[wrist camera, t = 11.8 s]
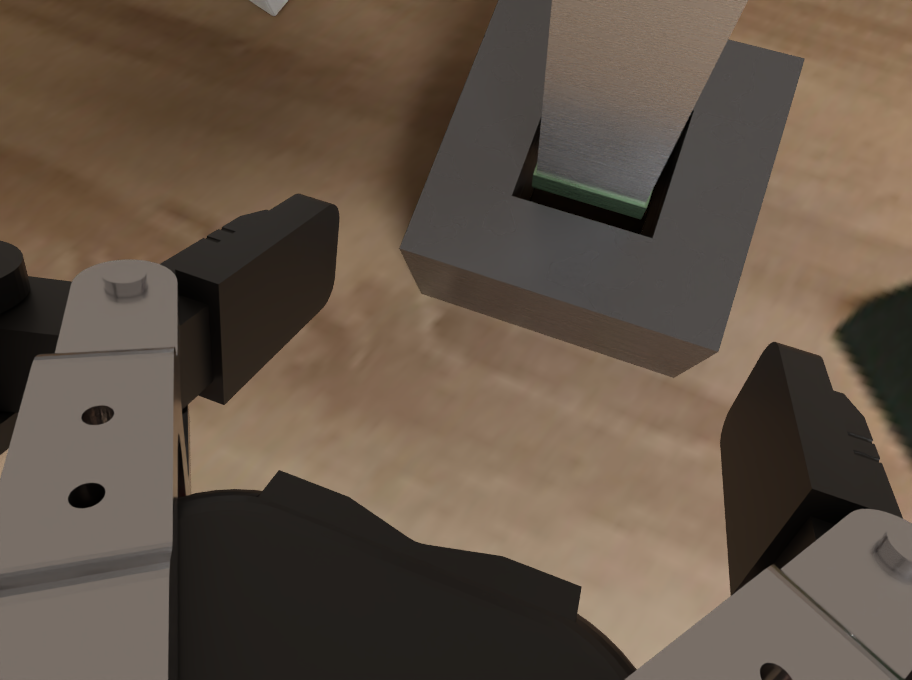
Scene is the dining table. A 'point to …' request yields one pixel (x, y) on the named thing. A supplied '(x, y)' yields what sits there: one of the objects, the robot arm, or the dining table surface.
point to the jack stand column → (623, 93)
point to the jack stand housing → (590, 242)
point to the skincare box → (270, 5)
